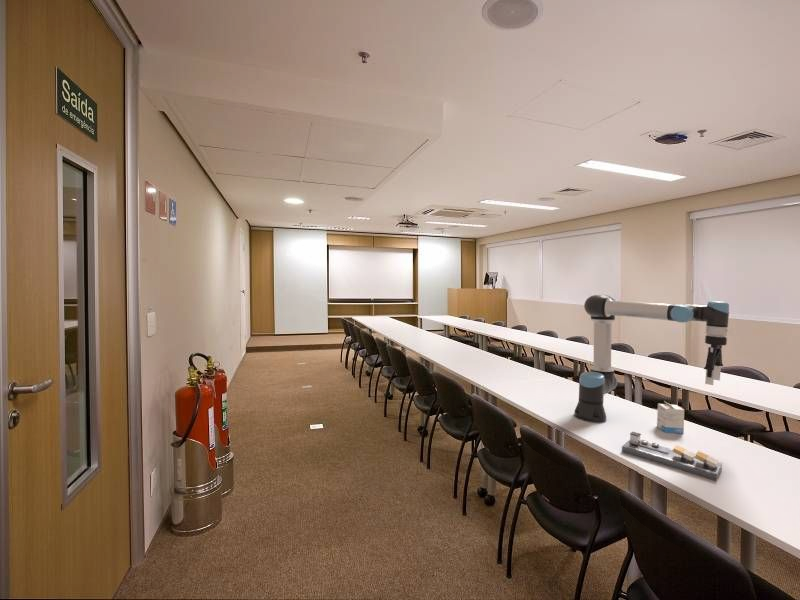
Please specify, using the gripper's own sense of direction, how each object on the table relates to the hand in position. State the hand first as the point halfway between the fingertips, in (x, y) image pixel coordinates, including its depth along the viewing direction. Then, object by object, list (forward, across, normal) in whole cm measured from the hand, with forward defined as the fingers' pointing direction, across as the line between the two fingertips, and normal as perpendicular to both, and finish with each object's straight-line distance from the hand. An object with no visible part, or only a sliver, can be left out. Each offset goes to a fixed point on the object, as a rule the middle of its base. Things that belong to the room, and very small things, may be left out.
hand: (712, 382), depth 174 cm
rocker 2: (+22, -38, -6) cm, 45 cm away
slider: (+24, -39, +18) cm, 49 cm away
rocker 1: (+22, -38, +1) cm, 44 cm away
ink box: (+28, +1, +15) cm, 32 cm away
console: (+27, -38, +5) cm, 47 cm away
